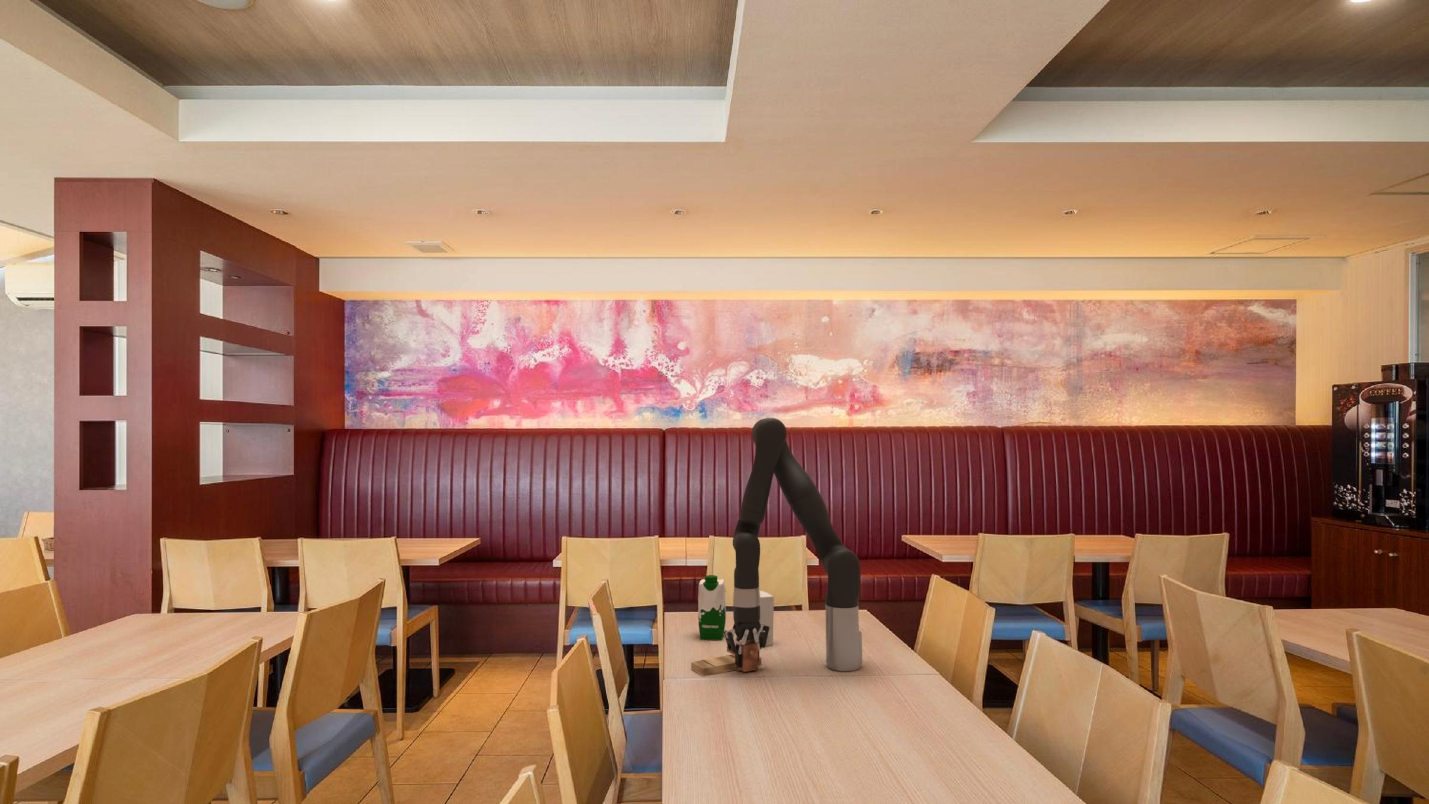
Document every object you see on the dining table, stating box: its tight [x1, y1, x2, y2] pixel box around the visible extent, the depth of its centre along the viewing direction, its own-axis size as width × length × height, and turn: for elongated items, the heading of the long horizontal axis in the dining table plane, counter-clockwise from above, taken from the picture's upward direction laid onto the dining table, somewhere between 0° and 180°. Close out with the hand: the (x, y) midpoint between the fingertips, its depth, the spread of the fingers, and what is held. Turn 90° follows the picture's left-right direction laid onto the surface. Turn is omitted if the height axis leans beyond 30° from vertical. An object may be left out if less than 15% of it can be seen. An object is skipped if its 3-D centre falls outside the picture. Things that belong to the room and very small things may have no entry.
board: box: [690, 654, 763, 677], centre depth 208 cm, size 19×7×2 cm, turn 120°
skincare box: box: [757, 590, 775, 647], centre depth 232 cm, size 8×7×16 cm
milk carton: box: [697, 574, 727, 641], centre depth 240 cm, size 9×9×20 cm
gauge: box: [726, 640, 759, 672], centre depth 208 cm, size 4×13×7 cm, turn 30°
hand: (747, 664), depth 205 cm, fingers closed on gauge, 4 cm apart
